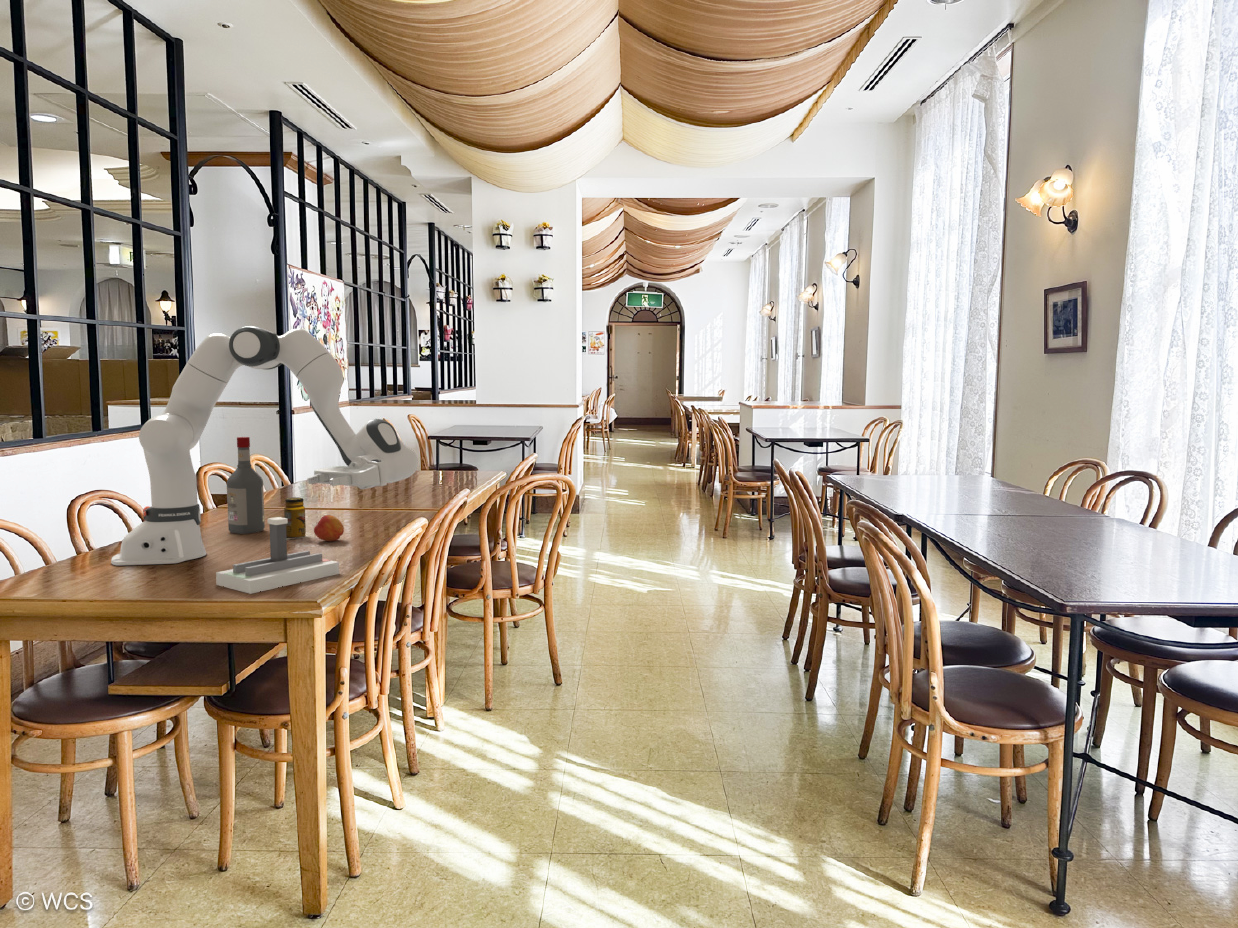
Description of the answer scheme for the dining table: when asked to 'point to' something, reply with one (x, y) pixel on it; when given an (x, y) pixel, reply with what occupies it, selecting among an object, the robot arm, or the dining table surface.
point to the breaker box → (276, 572)
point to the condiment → (295, 518)
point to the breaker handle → (278, 538)
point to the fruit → (329, 528)
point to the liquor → (245, 494)
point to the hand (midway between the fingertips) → (320, 481)
